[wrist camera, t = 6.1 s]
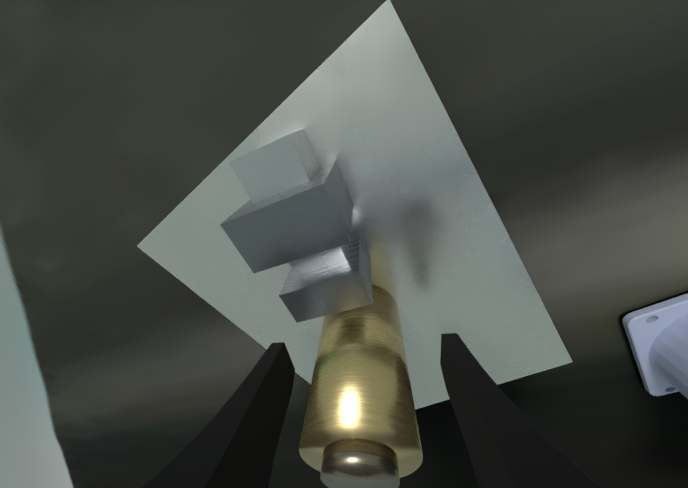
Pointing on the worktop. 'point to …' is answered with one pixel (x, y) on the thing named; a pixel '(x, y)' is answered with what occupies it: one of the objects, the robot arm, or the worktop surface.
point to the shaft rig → (361, 223)
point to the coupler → (362, 400)
